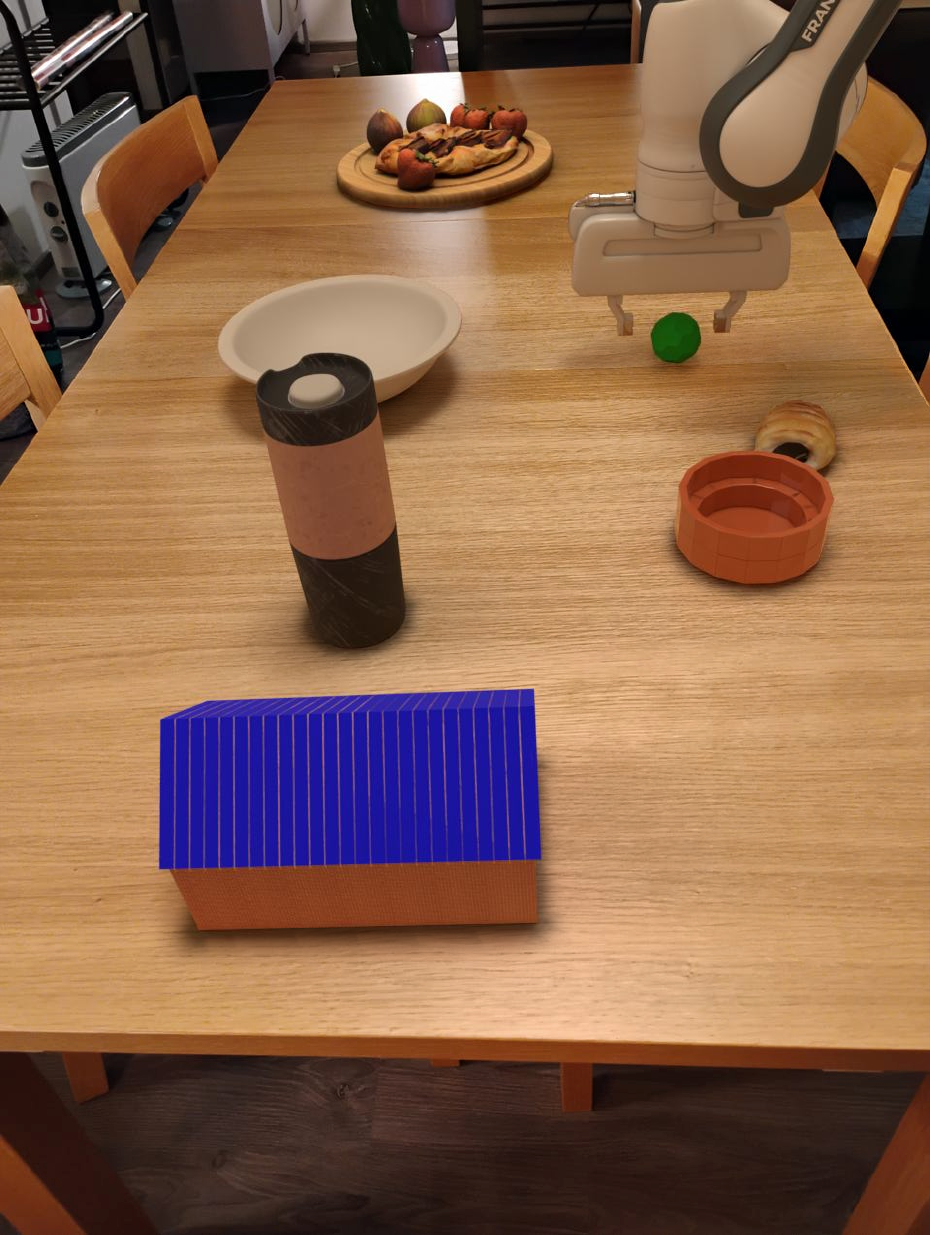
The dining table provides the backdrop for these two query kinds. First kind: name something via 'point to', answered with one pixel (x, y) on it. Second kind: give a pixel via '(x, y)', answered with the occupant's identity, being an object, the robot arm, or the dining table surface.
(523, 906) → the house
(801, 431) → the pastry
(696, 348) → the polyhedron
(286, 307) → the soup bowl
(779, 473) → the dessert bowl
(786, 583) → the dining table surface
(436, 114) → the wooden plate
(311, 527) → the travel mug
